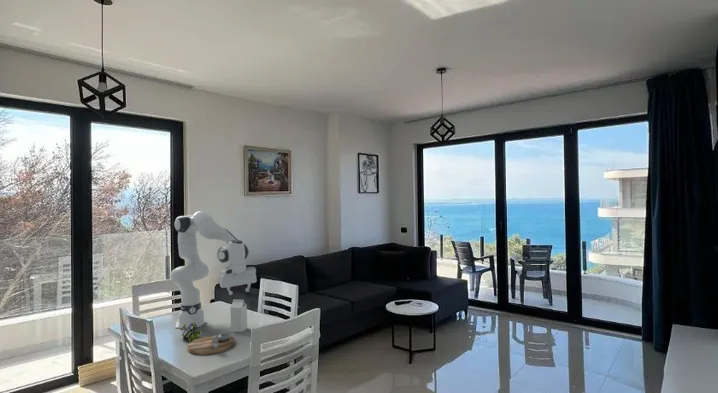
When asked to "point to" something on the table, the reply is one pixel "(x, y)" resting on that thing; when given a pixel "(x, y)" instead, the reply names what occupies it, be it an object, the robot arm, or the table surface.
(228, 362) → the table surface
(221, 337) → the pot lid
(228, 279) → the robot arm
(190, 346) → the turntable
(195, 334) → the passion flower
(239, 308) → the milk carton
